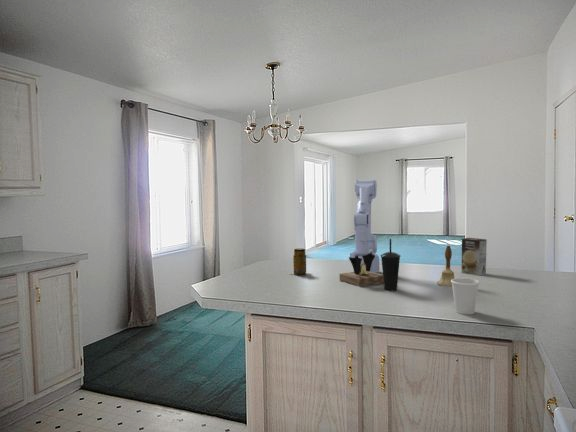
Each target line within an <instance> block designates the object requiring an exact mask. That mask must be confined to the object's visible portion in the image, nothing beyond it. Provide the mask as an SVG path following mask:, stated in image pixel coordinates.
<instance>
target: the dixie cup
mask: <svg viewBox="0 0 576 432" xmlns="http://www.w3.org/2000/svg"><path fill="white" fill-rule="evenodd" d="M451 282H452V286H451V287H452V296H453V303H454V304H453V305H454V311H455V313H458V314H461V315H473V314H475V311H476V304H477V298H478V297H477V296H478V291H479V290H478V289H479V285H480V281H479V280H477V279H474V278H463V277H459V278H456V277H455V279H452V280H451Z"/></svg>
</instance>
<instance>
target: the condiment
mask: <svg viewBox="0 0 576 432" xmlns="http://www.w3.org/2000/svg"><path fill="white" fill-rule="evenodd" d="M292 258H293V260H292V261H293V272H291V273H289V275H293V276H301V277H303V276H310V275H312V273H309V272H307V255H306V249H305V248H294V249H293V257H292Z"/></svg>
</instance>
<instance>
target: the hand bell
mask: <svg viewBox="0 0 576 432" xmlns="http://www.w3.org/2000/svg"><path fill="white" fill-rule="evenodd" d="M452 254H453V252H452V249H451V245H447V246H446V247H445V251H444V257H445V269H443V270H442V272H441V277H440V279H439V280H438V281H437V282H436V284H437V285H438V286H443V287H452V282H451V280H452V279H456V277H455V272H454V271H453V270H451V259H452Z"/></svg>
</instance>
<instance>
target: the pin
mask: <svg viewBox="0 0 576 432" xmlns="http://www.w3.org/2000/svg"><path fill="white" fill-rule="evenodd" d="M358 275H359V276H366V264H362V263H361V265H360V273H359V274H358Z"/></svg>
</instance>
